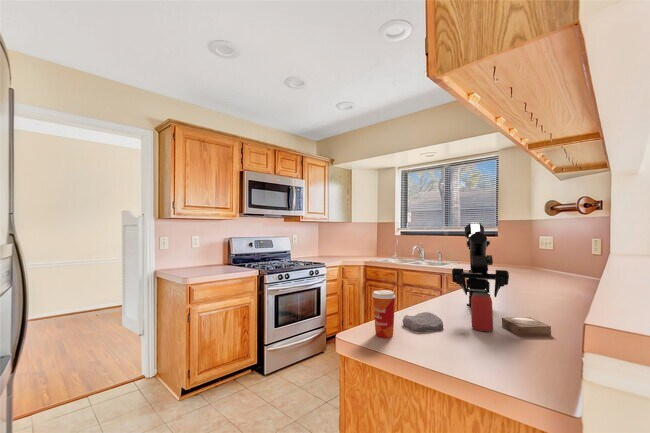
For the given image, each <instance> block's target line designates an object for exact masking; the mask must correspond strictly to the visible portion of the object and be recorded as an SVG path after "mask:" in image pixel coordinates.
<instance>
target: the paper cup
mask: <svg viewBox="0 0 650 433" xmlns="http://www.w3.org/2000/svg"><path fill="white" fill-rule="evenodd" d="M371 297H372V303H373V315H374V316H373V317H374V330H375V336H376V337H377V338H381V339H390V338H392V337H394V326H395V325H394V324H395V323H394V322H395V301H396V300H395V298H396V295H395V292H394V291H392V290H387V289H385V290H384V289H381V290H374V291H373V292H372V295H371Z"/></svg>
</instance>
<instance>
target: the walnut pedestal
mask: <svg viewBox="0 0 650 433" xmlns="http://www.w3.org/2000/svg"><path fill="white" fill-rule="evenodd" d="M501 327H503V328H505V329H507V330H508V331H510V332H512V333H513V334H515V335H518V336H519V337H550V336H549V335H551V336H552V326H551V325H549V324H546V323H544V322H542V321H540V320H537V319H535V318H533V317H531V316H526V317H525V316H524V317H522V316H519V317H517V316H515V317H501Z"/></svg>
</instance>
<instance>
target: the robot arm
mask: <svg viewBox="0 0 650 433" xmlns="http://www.w3.org/2000/svg"><path fill="white" fill-rule="evenodd" d="M464 238H466V247H467V248H468V250H469V261H470V262H469V263H470V264H469V265H470V269H469V270H468V271H464V268H459V267H458V268H456V267H455V268H452V270H451V274H452V275H451V278H452V282H453V283H455V284H456V285H459V286H460V287H461V288H462V290H463V292H464V294H465V296H468V303H466V306H470V307H471V297H472V295H473V294H472V293H474V292H483V293H488V294H490V293H491V292H490V286H491V285H490V281H489V280H491V281H494V294H493V295H494V296H493V297H494V298H497V295H498V292H499V290H500V289H501V288H502V287H503V288H504V287H505V286H508V284H509V279H510V278H509V277H510V273H509V271H508V270H506V269H495V273H488V271H489V266H492V265H493V264H494V261H493V255H489V254H486V253H487V252H486V251H487V248H488V247H489V246H490V244H491V243H490V242H491V241H490V240H488V237H487V235H485V227H484V226H483V225H482V223H481V222H479V221H473V222H472V221H471V222H468V225H466V226H465V227H464Z"/></svg>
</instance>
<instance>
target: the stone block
mask: <svg viewBox="0 0 650 433" xmlns="http://www.w3.org/2000/svg"><path fill="white" fill-rule="evenodd" d="M402 324H403V326H404V327H406V328H409V329H410V330H412V331H413V332H425V331H426V332H429V331H430V332H432V331H440V330H443V329H444V322H443V320H442V318H440V317H439V316H438V315H436V314H434V313H432V312H428V311H427V312H426V311H423V312H419V313H417V314H415V315H407V314H406V315H404V316H403V318H402Z"/></svg>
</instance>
